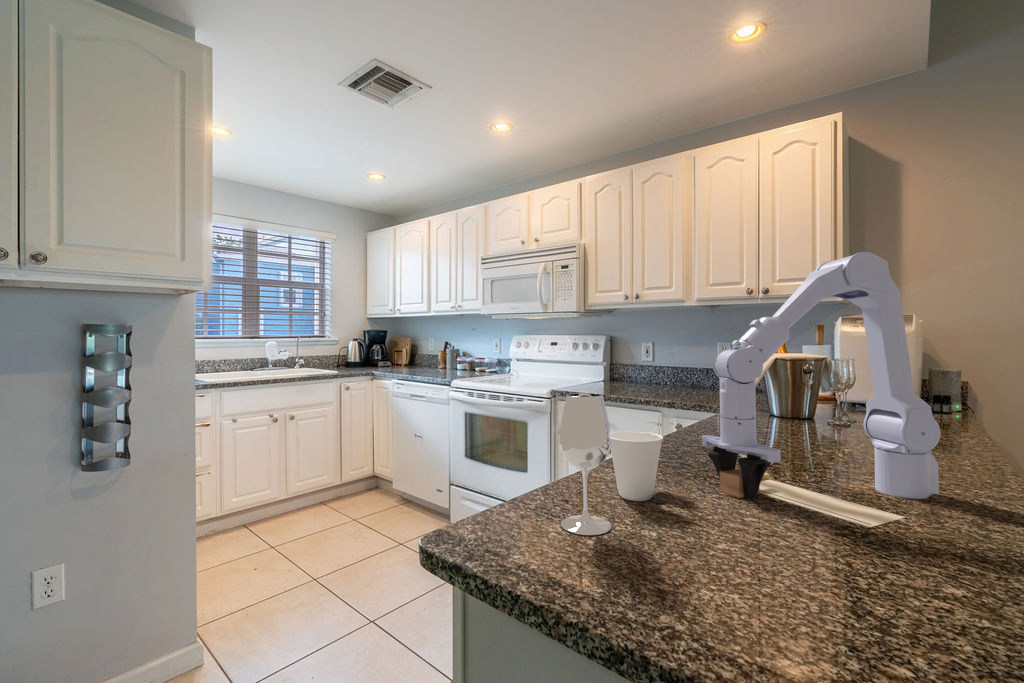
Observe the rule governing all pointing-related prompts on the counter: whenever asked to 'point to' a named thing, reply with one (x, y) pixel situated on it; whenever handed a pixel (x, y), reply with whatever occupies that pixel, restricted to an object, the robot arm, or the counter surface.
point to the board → (827, 504)
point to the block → (735, 482)
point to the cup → (635, 463)
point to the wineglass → (585, 451)
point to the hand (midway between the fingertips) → (739, 494)
